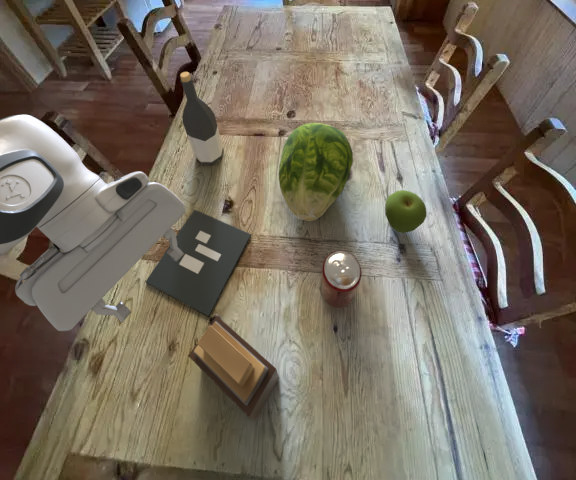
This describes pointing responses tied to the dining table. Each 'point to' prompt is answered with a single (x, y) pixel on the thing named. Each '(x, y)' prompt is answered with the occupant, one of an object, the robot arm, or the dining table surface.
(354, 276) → the soda can
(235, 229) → the slate board
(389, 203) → the apple
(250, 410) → the walnut block
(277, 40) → the dining table surface
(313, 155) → the lettuce
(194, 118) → the wine bottle
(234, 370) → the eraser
